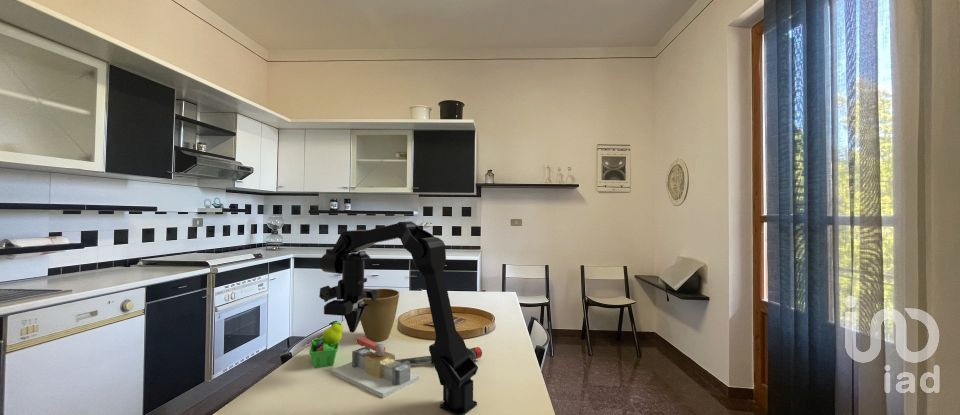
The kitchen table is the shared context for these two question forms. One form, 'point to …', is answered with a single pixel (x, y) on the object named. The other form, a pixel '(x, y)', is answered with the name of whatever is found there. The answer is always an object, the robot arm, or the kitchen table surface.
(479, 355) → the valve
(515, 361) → the kitchen table surface
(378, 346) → the lever
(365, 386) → the mounting board
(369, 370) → the pipe valve
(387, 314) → the plant pot
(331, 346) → the fruit basket
